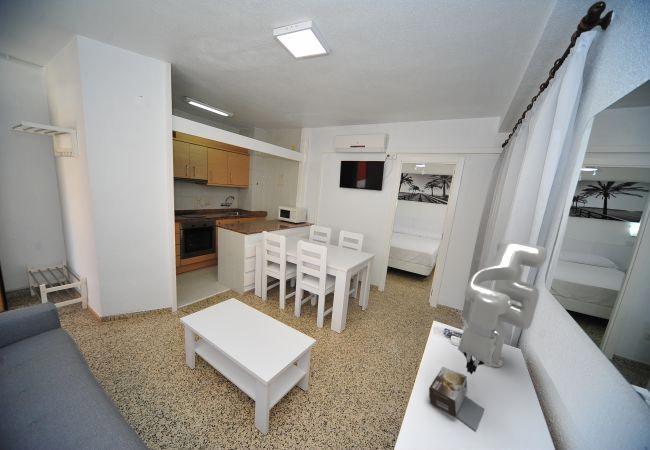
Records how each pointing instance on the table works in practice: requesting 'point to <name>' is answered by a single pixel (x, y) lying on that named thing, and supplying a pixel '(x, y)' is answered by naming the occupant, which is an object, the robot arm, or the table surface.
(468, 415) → the mat
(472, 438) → the table surface
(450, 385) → the coffee box
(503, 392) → the table surface
